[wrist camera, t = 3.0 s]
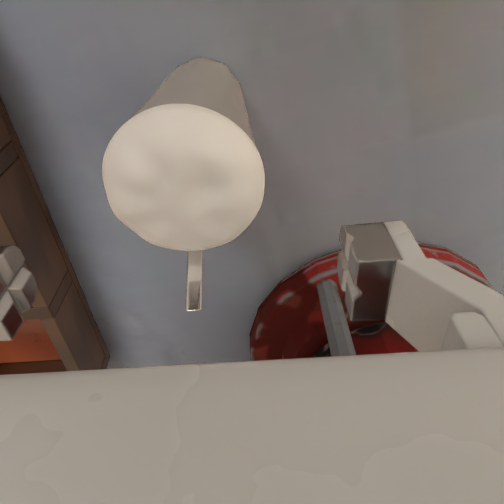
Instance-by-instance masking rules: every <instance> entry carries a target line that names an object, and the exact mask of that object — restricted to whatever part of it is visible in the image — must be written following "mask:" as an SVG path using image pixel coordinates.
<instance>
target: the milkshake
mask: <svg viewBox="0 0 504 504" xmlns="http://www.w3.org/2000/svg"><path fill="white" fill-rule="evenodd" d="M102 176H103V182H104V187H105V191H106V195H107V198H108V202H109V204H110V207H111V209H112V211H113V213H114V214H115V215H116V217H117V218H118V219H119V220H120V221H121V222H122V223H124V224H125V225H126V226H128V227H129V228H130V229H132V230H133V231H134V232H135V233H136V234H138V235H139V236H140V237H141V238H143V239H144V240H145V241H147V242H149V243H151V244H153V245H155V246H159V247H162V248H167V249H173V250H182V251H188V264H187V289H186V311H200V310H201V308H202V271H203V250H205V249H210V248H214V247H218V246H221V245H224V244H226V243H228V242H230V241H232V240H233V239H235V238H236V237H238V236H239V235H240V234H241V233H242V232H243V231H244V230H245V229H246V228H247V227H248V226H249V225H250V224H251V222H252V221H253V220H254V218H255V217H256V215H257V213H258V212H259V210H260V207H261V205H262V201H263V196H264V189H265V172H264V166H263V163H262V160H261V157H260V154H259V152H258V149H257V145H256V142H255V139H254V136H253V133H252V130H251V127H250V123H249V119H248V115H247V111H246V107H245V103H244V99H243V95H242V90H241V86H240V83H239V82H238V81H237V80H236V78H235V77H234V76H233V75H232V73H231V72H230V71H229V69H228V68H227V67H226V65H225V64H224V63H220V62H217V61H213V60H210V59H206V58H203V57H198V58H196V59H193V60H191V61H188V62H186V63H184V64H181V65H179V66H177V67H176V68H175V69H174V71H173V72H172V73H171V74H170V75H169V76H168V78H167V79H166V80H165V81H164V82H163V83H162V85H161V86H160V87H159V88H158V89H157V90H156V92H155V93H154V94H153V95H152V96H151V98H150V99H149V100H148V101H147V102H146V103H145V104H144V105H143V106H142V107H141V108H140V109H139V110H138V111H137V112H136V113H135V114H134V115H133V116H132V117H131V118H130V119H129V120H128V121H127V122H126V123H125V124H124V125H122V126H121V127H120V129H119V130H118V131H117V132H116V133H115V134H114V136H113V137H112V139H111V141H110V142H109V144H108V146H107V148H106V151H105V154H104V158H103V163H102Z"/></svg>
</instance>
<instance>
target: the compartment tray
mask: <svg viewBox="0 0 504 504" xmlns="http://www.w3.org/2000/svg"><path fill="white" fill-rule="evenodd" d="M9 245H14V246H16V247H18V248H20V250H21V252H22V254H23V256H24V257H25V261H24V263H23V267H25V268H26V269H28V270H29V271H31V272H32V274H33V276H34V278H35V280H36V286H37V293H36V300H35V302H34V303H33V305H32V307H31V308H30V309H29V310H27V311H26V312H24V313H23V314H21V315H22V317H23V320H24V321H23V323H22V325H21V326H20V328H19V330H18V331H17V333H16V335H15V337H14V338H13V340H11V341H0V375H9V374H27V373H45V372H63V371H81V370H99V369H106V368H107V365H108V362H109V359H110V356H109V354H108V351H107V349H106V347H105V344H104V342H103V339H102V337H101V335H100V332H99V330H98V328H97V325H96V323H95V321H94V318H93V316H92V313H91V311H90V309H89V306H88V304H87V302H86V299H85V297H84V295H83V292H82V290H81V287H80V285H79V283H78V280H77V278H76V276H75V273H74V271H73V269H72V266H71V264H70V261H69V259H68V257H67V254H66V252H65V250H64V247H63V245H62V242H61V240H60V238H59V235H58V233H57V231H56V228H55V226H54V224H53V221H52V219H51V216H50V214H49V212H48V209H47V207H46V205H45V202H44V200H43V198H42V195H41V193H40V190H39V188H38V186H37V183H36V181H35V179H34V176H33V174H32V172H31V169H30V167H29V164H28V162H27V160H26V157H25V155H24V153H23V150H22V148H21V146H20V143H19V141H18V138H17V136H16V134H15V131H14V129H13V127H12V124H11V122H10V119H9V117H8V115H7V112H6V110H5V108H4V105H3V103H2V101H1V98H0V246H9Z"/></svg>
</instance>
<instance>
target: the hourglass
mask: <svg viewBox="0 0 504 504" xmlns="http://www.w3.org/2000/svg"><path fill="white" fill-rule="evenodd" d="M418 245H419V246H420V248H421V250H422V251H423V253H424V255H425V256H426V258H434V259H435V260H437V261H439V262H441V263H443V264H445V265H447V266H449V267H451V268H453V269H455V270H456V271H458V272H460V273H462V274H464V275H466V276H468V277H470V278H472V279H474V280H476V281H478V282H479V283H481V284H483V285H485V286H487V287H489V288H491V289H493V288H492V287H491V285H490V284H489V282H488V281H487V280H486V278H485V277H484V275H483V274H482V272H481V271H480V270H479V268H478V267H477V265H475V264H473V263H471V262H470V261H468V260H466V259H464V258H463V257H461V256H459V255H457V254H456V253H454V252H452V251H450V250H448V249H447V248H443V247H437V246H432V245H426V244H421V243H418ZM339 252H340V251H338V252H335V253H332V254H329V255H326V256H323V257H320V258H317V259H315V260H313V261H311V262H310V263H308V264H307V265H305V266H304V267H302V268H301V269H299V270H298V271H296V272H294V273H293V274H291V275H290V276H288V277H287V278H285V279H284V280H282V281H281V282H280V283H279V284H278V285H277V286H276V288H275V289H274V290H273V291H272V292H271V293H270V295H269V296H268V297H267V298H266V299H265V301H264V302H263V303H262V304H261V305H260V306H259V308H258V311H257V314H256V317H255V320H254V323H253V326H252V329H251V332H250V355H251V361H260V360H278V359H296V358H315V357H333V356H351V355H367V354H385V353H403V352H419V351H418V350H417V349H415V348H414V347H413V346H412V345H411V344H410V343H409V342H408V341H407V340H405V339H404V338H403V337H402V336H401V335H400V334H399V333H398V332H396V331H395V330H394V329H393V328H392V327H391V326H390V325H389V324H388V323H386V322H385V320H370V321H350V318H349V315H348V312H347V308H346V305H345V292H344V291H342V290H341V288H340V284H339V279H338V268H337V262H338V253H339ZM493 290H494V289H493Z"/></svg>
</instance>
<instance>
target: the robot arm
mask: <svg viewBox="0 0 504 504" xmlns="http://www.w3.org/2000/svg"><path fill="white" fill-rule="evenodd" d="M339 241H340V244H341V247H342V250H341V251H340V252H339V253H338V262H337V268H338V279H339V284H340V288H341V290H342V291H344V292H345V305H346V308H347V312H348V315H349V318H350V321H370V320H385V322H386V323H388V324H389V325H390V326H391V327H392V328H393V329H394V330H395V331H396V332H398V333H399V334H400V335H401V336H402V337H403V338H404V339H405V340H407V341H408V342H409V343H410V344H411V345H412V346H413V347H414V348H415V349H417V350H418V351H419V352H403V353H385V354H367V355H351V356H333V357H315V358H296V359H278V360H260V361H242V362H223V363H205V364H187V365H169V366H152V367H134V368H117V369H99V370H81V371H63V372H45V373H27V374H9V375H0V504H504V295H502V294H501V293H499V292H497V291H495V290H493V289H491V288H489V287H487V286H485V285H483V284H481V283H479V282H478V281H476V280H474V279H472V278H470V277H468V276H466V275H464V274H462V273H460V272H458V271H456V270H455V269H453V268H451V267H449V266H447V265H445V264H443V263H441V262H439V261H437V260H435V259H434V258H426V256H425V255H424V253H423V251H422V250H421V248H420V246H419V245H418V243H417V241H416V240H415V238H414V236H413V235H412V233H411V231H410V230H409V228H408V226H407V225H406V223H405V222H404V221H402V220H398V221H388V222H380V223H368V224H356V225H344V226H341V228H340V234H339ZM24 261H25V257H24V256H23V254H22V252H21V250H20V248H18V247H16V246H14V245H9V246H0V341H11V340H13V338H14V337H15V335H16V333H17V331H18V330H19V328H20V326H21V325H22V323H23V321H24V320H23V317H22V315H21V314H23V313H24V312H26V311H27V310H29V309H30V308H31V307H32V305H33V303H34V302H35V300H36V293H37V286H36V280H35V278H34V276H33V274H32V272H31V271H29V270H28V269H26V268H25V267H23V263H24Z"/></svg>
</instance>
